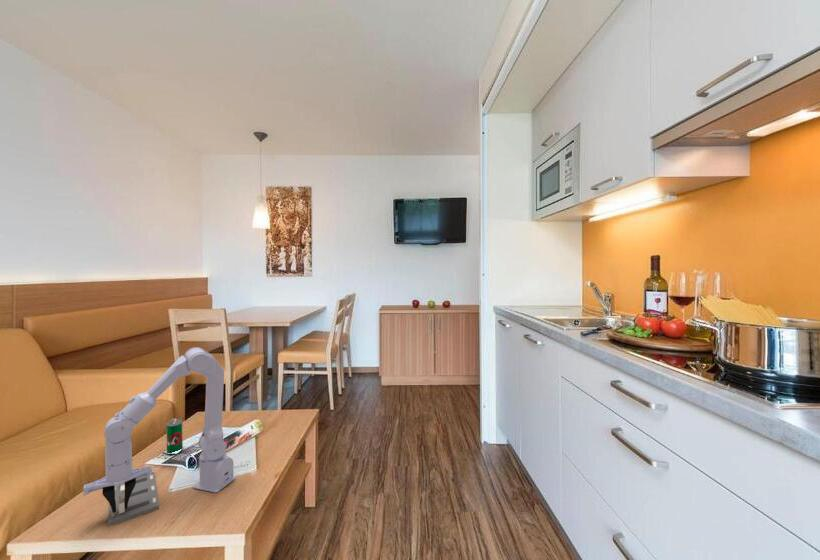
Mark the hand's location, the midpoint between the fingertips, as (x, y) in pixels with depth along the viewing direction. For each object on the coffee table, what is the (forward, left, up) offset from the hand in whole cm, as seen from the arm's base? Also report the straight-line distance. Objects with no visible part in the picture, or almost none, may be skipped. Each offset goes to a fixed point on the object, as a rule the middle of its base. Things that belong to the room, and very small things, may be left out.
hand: (119, 508), depth 97 cm
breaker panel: (+4, -7, -2) cm, 8 cm away
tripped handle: (0, 0, 0) cm, 1 cm away
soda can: (+17, -31, -2) cm, 36 cm away
